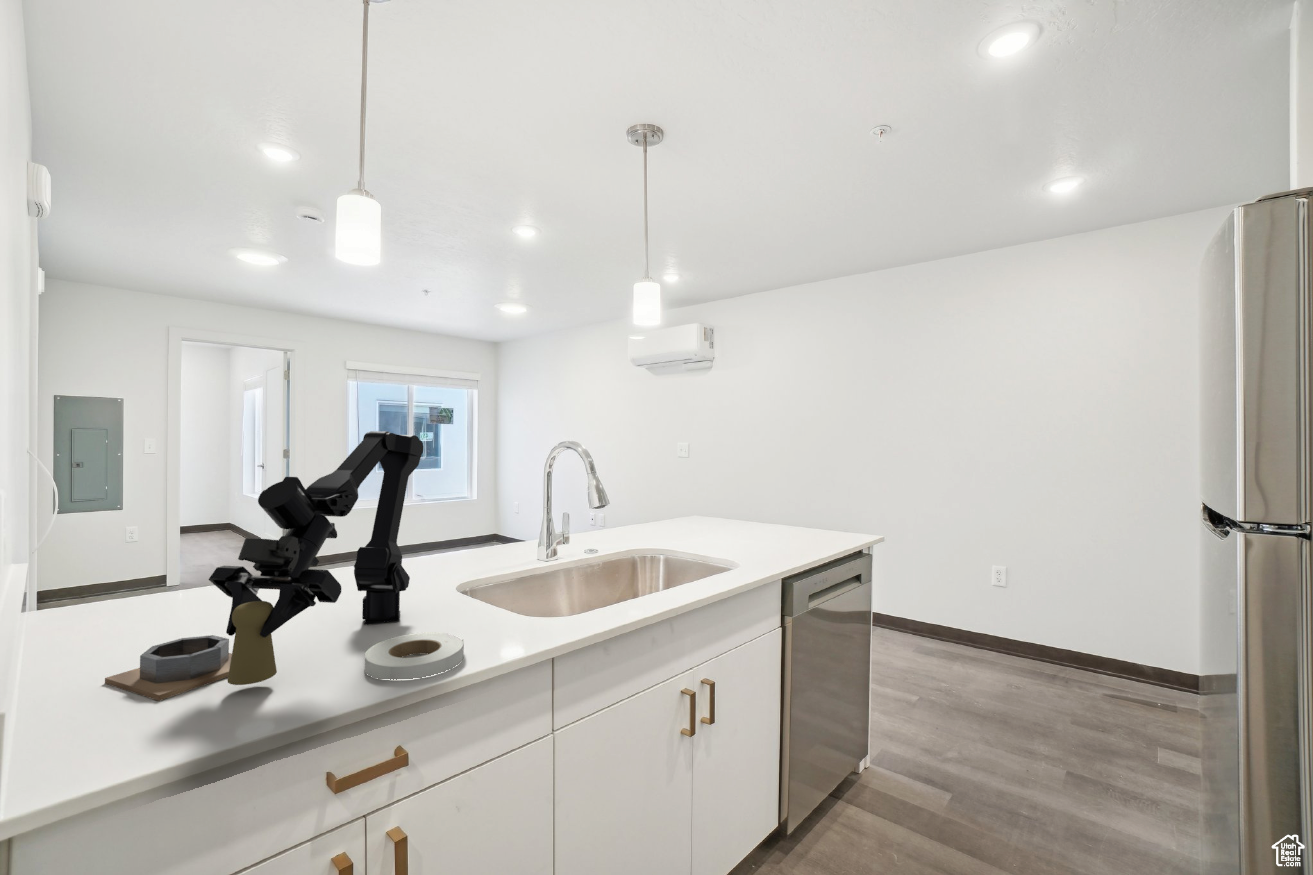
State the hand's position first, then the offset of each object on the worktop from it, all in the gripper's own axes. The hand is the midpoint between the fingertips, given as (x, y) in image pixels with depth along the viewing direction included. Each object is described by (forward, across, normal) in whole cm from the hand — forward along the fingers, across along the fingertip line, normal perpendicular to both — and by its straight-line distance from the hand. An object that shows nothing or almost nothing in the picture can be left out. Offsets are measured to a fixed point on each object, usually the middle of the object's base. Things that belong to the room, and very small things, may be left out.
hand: (245, 635), depth 84 cm
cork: (+4, 0, +6) cm, 7 cm away
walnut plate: (+3, -14, +10) cm, 17 cm away
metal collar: (+3, -14, +10) cm, 17 cm away
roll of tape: (-4, +18, +17) cm, 25 cm away
